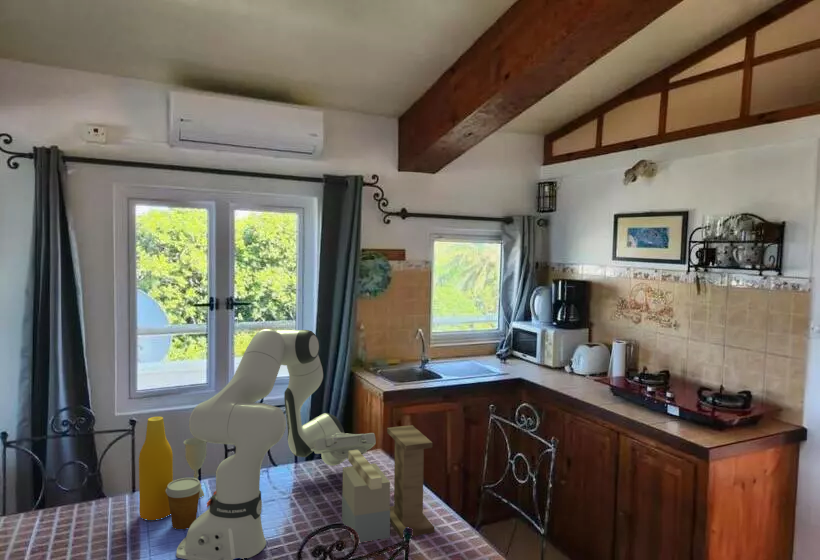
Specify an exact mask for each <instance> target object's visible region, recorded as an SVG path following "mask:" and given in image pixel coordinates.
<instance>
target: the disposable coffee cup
mask: <svg viewBox="0 0 820 560" xmlns="http://www.w3.org/2000/svg"><path fill="white" fill-rule="evenodd" d="M200 489H202V484H201V482H200V480H199V478H198V479H196V478H194V477H183V478H181V477H180V478H177V479H173V481H172V482H170V483H169V484H168V486H167V489H166V493H167V495H168V501H169V508H170V514H171V515H170V520H171V527H172V526H173V527H172V529H174V528H176V529H184V530H187V529H186V528H188V529H189V527H190V526H191V524H192V523H193V522H194V521H195V520H196V519H197V518H198V517H197V516H198V507H199V501H200V500H199V492H200ZM176 529H175V530H176Z"/></svg>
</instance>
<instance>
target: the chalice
mask: <svg viewBox="0 0 820 560" xmlns="http://www.w3.org/2000/svg"><path fill="white" fill-rule="evenodd" d="M207 443H208V442H206V441H202V440H199V439H196V438H195V437H190V438H187V439H185V440H183V444H184V446H185V451H184V452H185V456H184V457H185V460H186V463H188V466H189V467H190V469H191V470H193V471H194V474H193V478H196V479H198V480H199V476H200V475H199V470H200V469H201V468H202V467H203V464H204V462H205V460H206V457H207ZM204 494H205V493H204V490H203V488H201V489H200V492H199V498H200V497H202V496H204ZM204 497H205V496H204ZM202 498H203V497H202ZM200 499H201V498H200Z"/></svg>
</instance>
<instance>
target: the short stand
mask: <svg viewBox="0 0 820 560" xmlns="http://www.w3.org/2000/svg"><path fill="white" fill-rule="evenodd" d="M386 430H387V432H386V433H387V434H388V435H389V437H391V438H392V439H393V440H394V468H393V469H394V473H393V474H394V476H393V477H394V481H393V482H394V485H393V487H394V489H393V505H392V506H391V505H390V525H391V526H392V527H393V529H394V530H395V532H396V533H397V534H398V536H399V537H400V539H404V538H403V530H404V529H405V528H406V527H409V528H412V529H413V535H412V537H416V536H417V537H418V536H422V535H423V536H424V535H427V534H434V533H435V526H434V525H433V524H432V522H431V521H430V520H429V518H427V516H426V515H425V514H424V457H425V456H424V455H425V454H424V453H425V451H424V450H425V449H432V448H433V444H434V443H433V442H432V440H430V438H428V437H427V436H426V435H424V434H423V433H422V432H421V431H420V430H419V429H417V428H416V426H414V425H413V424H411V425H402V426H393V427H387V429H386Z"/></svg>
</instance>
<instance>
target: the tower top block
mask: <svg viewBox="0 0 820 560" xmlns="http://www.w3.org/2000/svg"><path fill="white" fill-rule="evenodd" d="M370 464H371V465H372V466H373V468H374V469H375V470H376V471H377V472H378V473H379V475H380V476H381V477H382V488H380V489H374V490H371V489H370V488H369V487H368V485H367V484H366V483H365V481H364V480H363V479H362V478H361V476H360V475H359V474H358V472H357V471H356V470H355V468H354V467H353V466H352V465H350V466H344V467H342V494H343V496H344V498H345V499H346V501H347V503H348V505H349V507H350V509H351V511H352V512H353V514H354V516H357V515H363V514H370V513H376V512H383V511H389V510H390V506H391V502H390V499H391V497H390V496H391V481H390V480H389V479H388V477H387V476H386V475H385V474H384V472H383V471H382V470H381V468H380V467H379V466H378V464H377V463H375V462H374V463H370Z"/></svg>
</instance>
